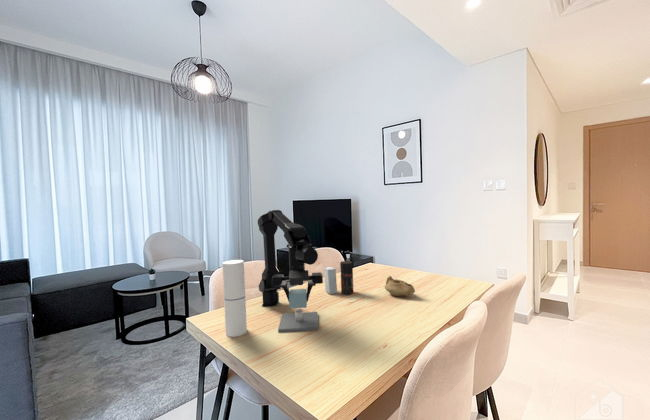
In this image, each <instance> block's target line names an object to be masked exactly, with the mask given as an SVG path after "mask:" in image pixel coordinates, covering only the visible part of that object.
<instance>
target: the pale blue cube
mask: <svg viewBox="0 0 650 420" xmlns="http://www.w3.org/2000/svg"><path fill="white" fill-rule="evenodd" d="M289 292H290V293H289V301H288V303H289V309H302V308H303V309H307V307H308V306H307V305H308V302H307V298H306V297H307V288H296V289H294V288H293V289H289Z"/></svg>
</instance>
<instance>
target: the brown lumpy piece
mask: <svg viewBox="0 0 650 420" xmlns="http://www.w3.org/2000/svg"><path fill="white" fill-rule="evenodd" d="M384 289H385V291H386V292H388V293H389V294H390V295H392V296H394V297H404V296H410V295H414V293H415V292H416V289H415V288H414V285H413V284H411V283H408V282H407V281H404V280H401V279H394V278H393V277H392V276H390V275H388V277H387V278H386V280H385V286H384Z"/></svg>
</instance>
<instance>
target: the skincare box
mask: <svg viewBox="0 0 650 420" xmlns="http://www.w3.org/2000/svg"><path fill="white" fill-rule="evenodd" d="M336 270H337V269H336V268H334V267H332V266H326V267H323V273H324V286H325V288H324V289H325V292H326V293H328V294H329V295H335V294H337V293H338V287H337V286H338V285H337V271H336Z"/></svg>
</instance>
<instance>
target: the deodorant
mask: <svg viewBox="0 0 650 420" xmlns="http://www.w3.org/2000/svg"><path fill="white" fill-rule="evenodd" d="M353 267H354V265H353V261H350V260H343V261H340V286H341V288H340V289H341V292H340V293H341V294H342V295H346V296H347V295H352V294H354V272H353V271H354V270H353V269H354V268H353Z"/></svg>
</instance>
